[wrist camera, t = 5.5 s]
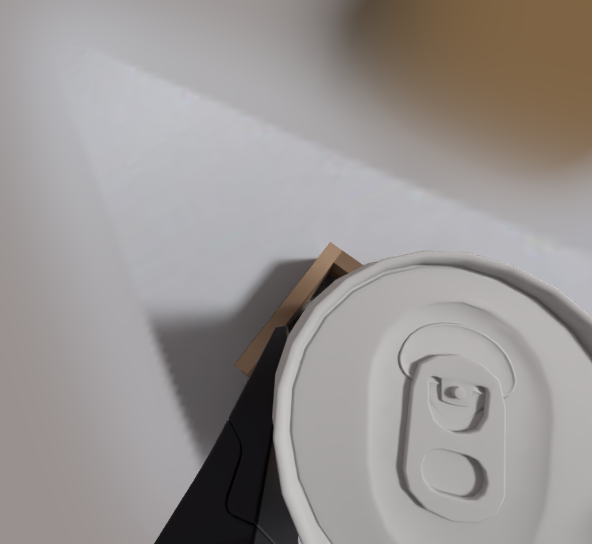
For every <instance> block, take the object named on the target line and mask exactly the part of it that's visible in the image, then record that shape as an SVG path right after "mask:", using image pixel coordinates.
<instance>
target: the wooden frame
mask: <svg viewBox="0 0 592 544" xmlns="http://www.w3.org/2000/svg"><path fill="white" fill-rule="evenodd" d="M362 266H364V265H362V264H361V263H359V262H358V261H356V260H355V259H354V258H352V257H351V256H349V255H348V254H346V253H345V252H344V251H342V250H341V249H339V248H338V247H336V246H335V245H333V244H332V243H331V242H330V243H329V244H328V246H327V247H326V248H325V250H324V251H323V252H322V253H321V255H320V256H319V257H318V259H317V260H316V261H315V262H314V264H313V265H312V266H311V267H310V269H309V270H308V271H307V273H306V274H305V275H304V276H303V278H302V279H301V280H300V281H299V283H298V284H297V285H296V287H295V288H294V289H293V290H292V292H291V293H290V294H289V296H288V297H287V298H286V299H285V301H284V302H283V303H282V304H281V306H280V307H279V308H278V310H277V311H276V312H275V313H274V315H273V316H272V317H271V319H270V320H269V321H268V322H267V324H266V325H265V326H264V327H263V329H262V330H261V331H260V333H259V334H258V335H257V336H256V338H255V339H254V340H253V341H252V343H251V344H250V345H249V347H248V348H247V349H246V350H245V352H244V353H243V354H242V356H241V357H240V358H239V359H238V361H237V362H236V363H235V364H234V365H235V366H236V367H238V368H239V369H240V370H241V371H242V372H243V373H244V374H245V375H247V376H248V377H250V375H251V373H252V371H253V369H254V368H255V366H256V364H257V362H258V360H259V358H260V356H261V354H262V352H263V350H264V348H265V346H266V344H267V342H268V340H269V338H270V336H271V334H272V332H273V330H274V328H275V327H277V326H282V325H286V326H287V327H289V326H290V325H291V323H292V322H293V321H294V320H295V318H296V317H297V316H298V314H299V313H300V312H301V310H302V309H303V308H304V306H305V305H306V304H307V303H308V301H309V300H310V299H311V297H312V296H313V295H314V293H315V292H316V291H317V290H318V288H319V287H320V286H321V284H322V283H323V282H324V280H325V279H326V278H327V276H328V275H329V274H330V275H331V276H333V277H334V278H335V279H338V278H340V277H342V276H344V275H346V274H348V273H350V272H352V271H354V270H356V269H358V268H360V267H362Z"/></svg>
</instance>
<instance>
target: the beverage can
mask: <svg viewBox="0 0 592 544" xmlns="http://www.w3.org/2000/svg"><path fill="white" fill-rule="evenodd" d="M272 419H273V425H274V430H273V442H274V448H275V455H276V461H277V467H278V474H279V480H280V487H281V493H282V496H283V498H284V501H285V503H286V506H287V508H288V511H289V513H290V516H291V518H292V521H293V523H294V526H295V528H296V531H297V533H298V536H299V538H300V541H301V543H302V544H592V317H591V316H590V315H589V314H588V313H587V312H585V311H584V310H583V309H582V308H581V307H579V306H578V305H577V304H576V303H575V302H573V301H572V300H571V299H570V298H569V297H567V296H566V295H565V294H564V293H563V292H561V291H560V290H559V289H558V288H556V287H554V286H552V285H550V284H548V283H546V282H544V281H543V280H541V279H539V278H537V277H535V276H533V275H531V274H529V273H527V272H525V271H524V270H522V269H520V268H518V267H516V266H514V265H511V264H507V263H504V262H500V261H497V260H493V259H489V258H486V257H482V256H479V255H475V254H471V253H468V252H442V251H421V252H416V253H411V254H406V255H401V256H397V257H392V258H387V259H382V260H380V261H377V262H373V263H368V264H366V265H364V266H362V267H360V268H358V269H356V270H354V271H352V272H350V273H348V274H346V275H344V276H342V277H340V278H338V279H336V280H335V281H334V282H333V283H332V284H331V285H329V286H328V287H327V288H326V289H325V290H324V291H323V292H322V293H321V294H319V295H318V296H317V297H316V298H315V299H314V300H313V301H312V302H311V303H309V304H308V306H307V307H306V309H305V310H304V312H303V313H302V315H301V317H300V318H299V320H298V321H297V323H296V324H295V326H294V327H293V329H292V331H291V332H290V334H289V335H288V338H287V341H286V344H285V347H284V350H283V353H282V356H281V359H280V362H279V365H278V368H277V371H276V374H275V387H274V400H273V413H272Z"/></svg>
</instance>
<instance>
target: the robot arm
mask: <svg viewBox="0 0 592 544" xmlns="http://www.w3.org/2000/svg"><path fill="white" fill-rule="evenodd" d="M288 335H289V331H288V327H287V326H286V325H282V326H277V327H275V328H274V330H273V332H272V334H271V336H270V338H269V340H268V342H267V344H266V346H265V348H264V350H263V352H262V354H261V356H260V358H259V360H258V362H257V364H256V366H255V368H254V369H253V371H252V373H251V375H250V377H249V379H248V381H247V383H246V385H245V387H244V389H243V391H242V393H241V395H240V397H239V399H238V401H237V403H236V405H235V407H234V409H233V410H232V412H231V414H230V416H229V420H230V421H229V420H228V421H227V422H226V424H225V426H224V428H223V430H222V432H221V434H220V436H219V437H218V439H217V441H216V443H215V445H214V447H213V449H212V450H211V452H210V454H209V456H208V457H207V459H206V461H205V462H204V464H203V466H202V467H201V469H200V471H199V472H198V474H197V476H196V477H195V479H194V481H193V483H192V484H191V486H190V487H189V489H188V490H187V492H186V493H185V495H184V497H183V498H182V500H181V501H180V503H179V505H178V506H177V508H176V509H175V511H174V513H173V514H172V516H171V518H170V519H169V521H168V522H167V524H166V525H165V527H164V529H163V530H162V532H161V533H160V535H159V537H158V538H157V540H156V541H155V543H154V544H298V533H297V531H296V528H295V526H294V523H293V521H292V518H291V516H290V513H289V511H288V508H287V506H286V503H285V501H284V498H283V496H282V493H281V487H280V480H279V474H278V467H277V461H276V455H275V448H274V442H273V430H274V425H273V419H272V413H273V400H274V387H275V374H276V371H277V368H278V365H279V362H280V359H281V356H282V353H283V350H284V347H285V344H286V341H287V338H288Z"/></svg>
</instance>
